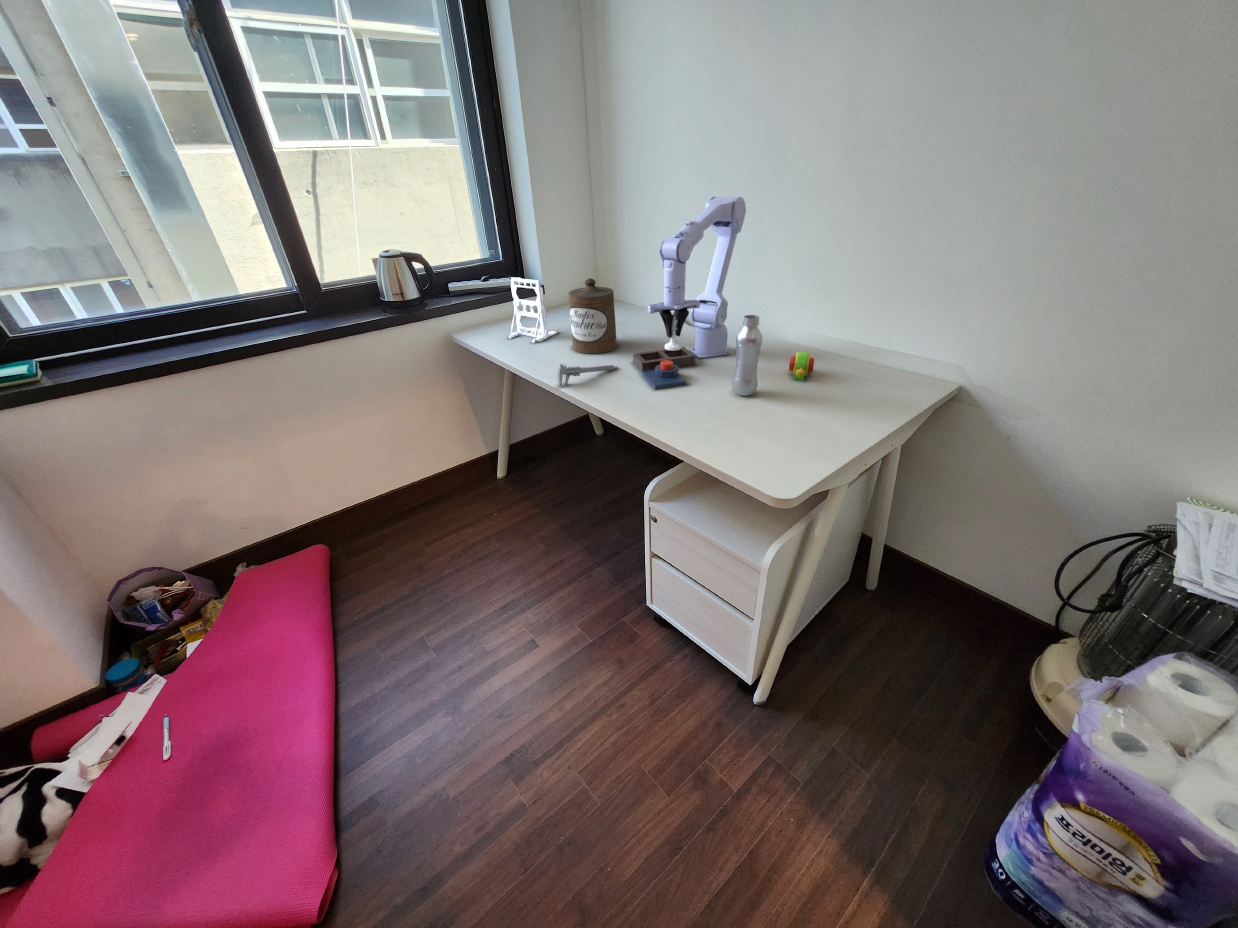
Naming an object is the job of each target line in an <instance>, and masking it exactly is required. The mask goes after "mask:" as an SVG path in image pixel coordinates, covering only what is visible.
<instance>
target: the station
mask: <svg viewBox="0 0 1238 928" xmlns="http://www.w3.org/2000/svg"><path fill="white" fill-rule="evenodd" d="M641 373H642V377H643V378H644V379H645V380H646V381H647V383H649V385H650V386H651V387H652V388H653V389H654V390H660V389H661V390H662V389H669V388H675V387H682V386H686V385H687V381H686V380H685V379H684V378H683V377H682V376H681V375H680V374H679V367H678V366H677V365H674V364H673V369H672V370H668V371H667V370H661V369H660V365H657V366H656V367H655V370H651V371H644V372H641Z"/></svg>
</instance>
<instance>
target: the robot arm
mask: <svg viewBox="0 0 1238 928" xmlns="http://www.w3.org/2000/svg"><path fill="white" fill-rule="evenodd" d="M746 213H747V207H746V202H745V199H744V198H743V197H742V196H738V197H734V196H733V197H731V196H730V197H727V196H725V197H724V196H723V197H721V196H719V197H717V196H711V197H710V198H709V200H707V201H706V203H705V209H704V210H703V211H702V212H701V213H700V214H699V216H698V217H697V218H696V219H695V220H687V221H685V224H684V225H683V226H682V227H681V228H680V229H679V230H677V231H676V232H675V234H674V235H673V236H668V237H666V238H665V239H663V241H662V242H661V244H660V249H659V257H660V259H661V266H662V269H663V302H657V303H653V304H648V305H647V313H649V314H650V315H652V314H655V313H658V314H659V315H660V317H661V319H662V322H663V325H664V329H665V331H666V332H665V333H666V337H667V338H669V339H671V337H672V322H673V316H674V315H673V313H672V311H673V312H675V314H676V315H675V319H677V320H678V321H677V323H676V327H677V330H675V334H676V337H681V335H682V334H681V333H682V329H683V327H684V324H685V322H686V320H687V318H688V317H689V316H690V318H691V321H692V322H693V325H694V326H695V344H694V348H691V349H690V350H689V351H690V352H691V353H692V354H694V355H695V357H697V358H699V359H704V358H706V359H707V358H713V357H720V356H727V355H728V352H727V348H728V347H727V346H728V336H729V335H728V328H727V326H726V325H725V322H726V320H727V317H728V306H729V302H728V301H727V299H726V297H725V296H724V295H723V291H724V287H725V283H726V280H727V275H728V272H729V268H730V264H731V260H732V255H733V252H734V248H735V244H736V240H737V236H738V234H739V233H741V232H742V229H743V225H744V221H745V217H746V215H747V214H746ZM710 227H711V229H712V231H714V232H715V233H717V236H718V237H717V241H716V245H715V249H714V253H713V258H712V261H711V264H710V269H709V273H708V277H707V281H706V286H705V290H704V291H703V292H701V293H700V294H698V295H696V298H695V299H686V277H687V276H686V274H687V273H686V271H687V262H688V261H690V258H691V255H692V252H693V251H694V248H695V247H696V246H697V245H698V244H699V243H700V242H701V241H702V239H704V233H705V231H706V230H707V229H709V228H710ZM689 309H691V310H689ZM689 314H690V315H689Z"/></svg>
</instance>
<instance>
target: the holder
mask: <svg viewBox="0 0 1238 928" xmlns="http://www.w3.org/2000/svg"><path fill="white" fill-rule="evenodd" d="M681 347H682V348H681V349H680V350H674V351H672V350H667V349H665V348H663V349H656V350H649V351H641V352H634V353H633V352H632V362H633V365H634V366H635V367H636V368H637V369H638V371H640V372H641V373H642V372H644V371H651V370H655V367H656V366H657V365H660V363H661V361H664V360H670V361H673V364H674V365H677V366H678V367H679V368H686V367H693V366H696V355H695V354H694V353H692V352H691V351H690V350H689V349H687V348H686V347H684V346H681Z"/></svg>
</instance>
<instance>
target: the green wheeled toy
mask: <svg viewBox="0 0 1238 928" xmlns="http://www.w3.org/2000/svg"><path fill="white" fill-rule="evenodd" d="M814 365H815V358H814V357H811V353H810V352H809V351H796V353H795V356H794V355H793V356H790V357H789V363H788V370H789V371H790V372H792V375H793V376H794V380H795V381H796V380H798V381H804V380H805V377H807V376H808V373H812V372H813V371H814Z"/></svg>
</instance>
